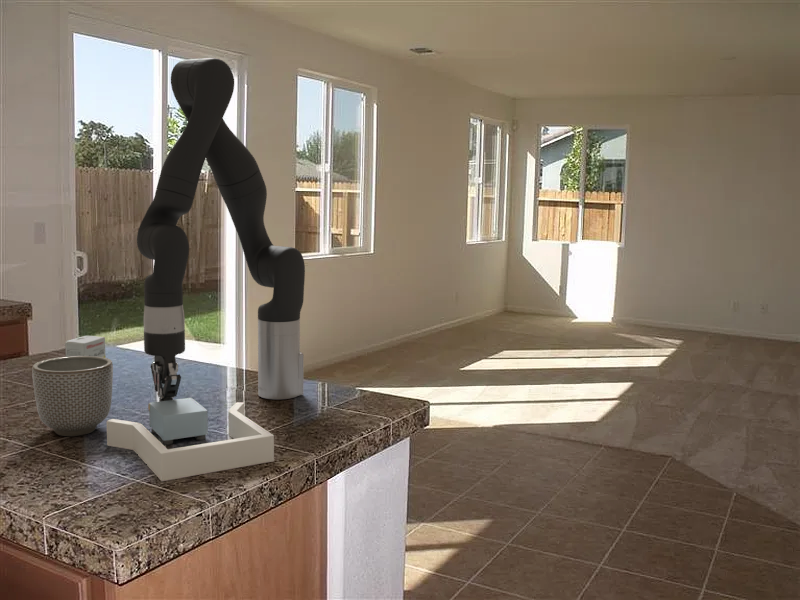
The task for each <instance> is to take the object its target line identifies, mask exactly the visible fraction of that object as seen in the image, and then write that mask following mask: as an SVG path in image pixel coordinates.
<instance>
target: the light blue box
mask: <svg viewBox="0 0 800 600" xmlns="http://www.w3.org/2000/svg"><path fill="white" fill-rule="evenodd" d="M147 405H148V411H149V413H148V414H149V415H148V416H149V417H148V419H149V427H150V428H151V434H157V435H158V436H159V437H160V438H161V440H162V444H163V445H164V446H170V445H173V444H174V440H178V439H184V438H193V437H195V440H196V441H203V440H206V439H207V438H206V435H209V423H208V422H209V420H208V419H209V416H208V411H209V410H208V409H206V408H205V407H204V406H203V405H202V404H200V403H198V402H197V401H196V400H195V399H193V397H186V398H177V399H173V400H168V401H153V402H148V404H147Z"/></svg>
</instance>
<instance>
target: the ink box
mask: <svg viewBox="0 0 800 600" xmlns="http://www.w3.org/2000/svg"><path fill="white" fill-rule="evenodd" d="M64 344H65V345H64V346H65V357H69V356H98V357H104V358H107V357H106V337H105V336H96V335H83V336H80V337H76V338H72V339H68V340H66V341H65V343H64Z"/></svg>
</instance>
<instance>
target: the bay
mask: <svg viewBox="0 0 800 600" xmlns="http://www.w3.org/2000/svg"><path fill="white" fill-rule="evenodd" d="M227 413H228V414H227V415H228V417H227V418H228V421H227V422H228V435H229V436H230V437H231V438H232V439H224V440H219V441H218V440H217V441H214V442H212V441H211V442H206V443H201V444H200V443H199V444H194V445H188V446H182V447H181V446H180V447H175V448H167V447H166V445H163V442H161V441H160V440H159V439H158V438H157V437H156V436H155V435H153V433H152V432H150V431H149V430H148V428H146V427H145V426H144V424H142V423H140V422H136V421H135V422H134V421H130V420H123V419H117V418H110V419H108V420H106V443H107V444H106V445H107V446H109V447H112V448H113V447H114V448H120V449H126V450H132V451H134V452H135V454H136V455H137V454H138V457H139V458H140V459H141V460H142V461H143V462H144V463H145V465H146V464H147V465H146V466H147V467H148V468H149V469H150V471H152V473H154V475H155V476H156V477H158V479H159V480H160V481H161V482H165V481H171V480H176V479H181V478H187V477H192V476H193V477H194V476H198V475H204V474H205V475H206V474H209V473H210V474H211V473H215V472H219V471H227V470H233V469H238V468H243V467H248V466H254V465H255V466H256V465H259V464H261V465H262V464H265V463H270V462H271V463H272V462H275V436H274V434H273V433H271V432H270V431H268V430H266V429H265V428H263V427H262V426H260V425H259V424H257V423H256V422H255V421H253V420H251V419H250V418H248V417H247V416H246V415H245V402H241V401H240V402H238V401H237V402H235V403H234V404H233V405H232V406H231V407H230V408H229V409H228V412H227Z"/></svg>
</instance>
